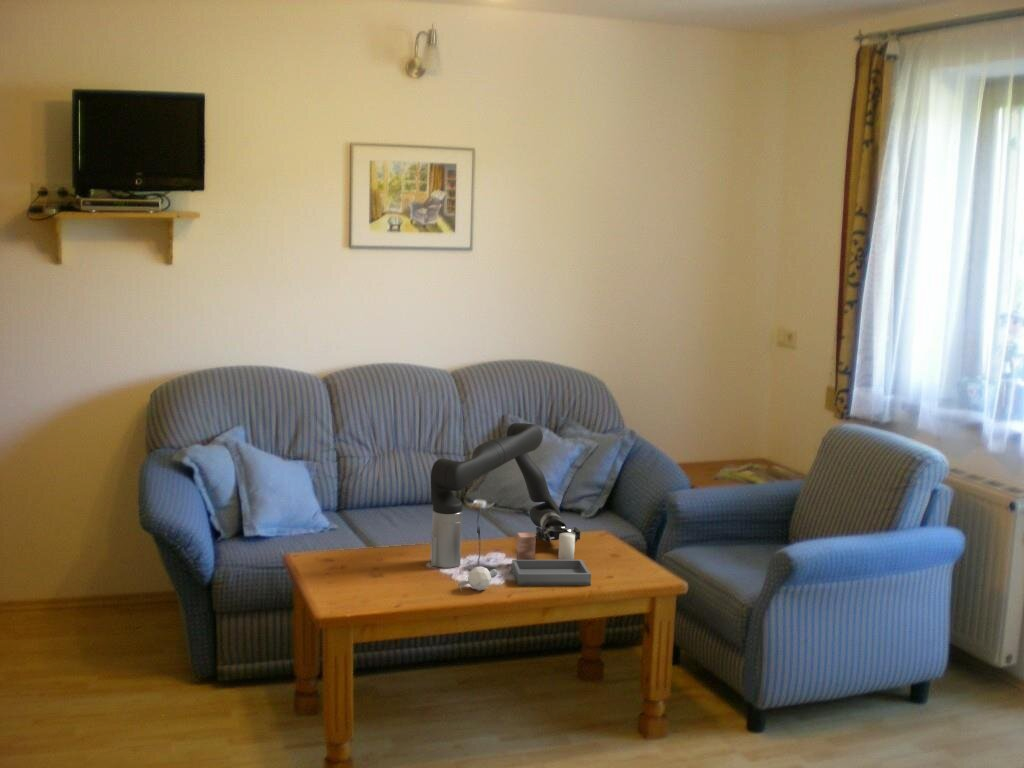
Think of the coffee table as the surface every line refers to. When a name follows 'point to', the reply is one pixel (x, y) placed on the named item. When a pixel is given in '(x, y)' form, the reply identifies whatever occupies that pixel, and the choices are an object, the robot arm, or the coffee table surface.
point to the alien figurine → (479, 578)
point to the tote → (550, 572)
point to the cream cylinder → (566, 546)
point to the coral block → (526, 546)
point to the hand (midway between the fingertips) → (561, 539)
